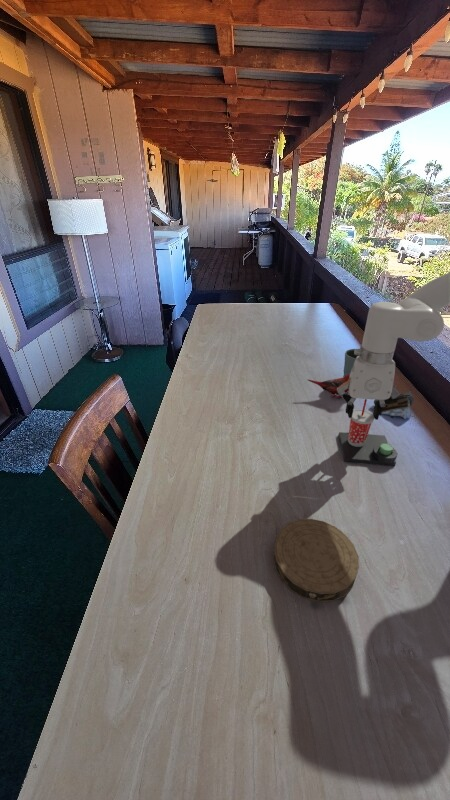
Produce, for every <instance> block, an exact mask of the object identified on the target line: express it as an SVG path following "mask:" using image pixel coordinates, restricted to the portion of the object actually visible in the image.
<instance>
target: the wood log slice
mask: <svg viewBox="0 0 450 800" xmlns="http://www.w3.org/2000/svg"><path fill="white" fill-rule="evenodd" d="M273 564H274V569H275V571H276V573H277V575H278V577H279V579H280V581H281V582H282V583H283V584H284V585H285V586H286V587H287V588H288V589H289V590H290V591H291V592H292V593H294V594H296V595H298V596H299V597H301V598H303V599H305V600H309V601H313V602H317V603H326V602H334V601H337V600H340V599H341V598H343V597H345V596H346V595H347V594H348V593H349V592H350V591H351V590H352V589H353V587H354V584H355V581H356V578H357V575H358V571H359V569H360V562H359V554H358V551H357V549H356V547H355V545H354V543H353V542H352V541H351V539H350V538H349V537H348V536H347V535H346V533H344V532H343V531H342V530H340V529H339V528H338V527H336V526H335V525H333V524H331V523H328V522H325V521H323V520H318V519H314V518H305V519H303V518H301V519H297V520H294V521H292V522H289V523H288V524H286V525H285V526H284V527H282V528H281V529H280V531H279V532H278V534H277V536H276V537H275V542H274V550H273Z"/></svg>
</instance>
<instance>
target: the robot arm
mask: <svg viewBox="0 0 450 800" xmlns="http://www.w3.org/2000/svg"><path fill="white" fill-rule="evenodd" d="M448 305H450V272H448V273H446V274H443V275H440V276H438V277H436V278H434V279H432V280H430V281H428V282H427V283H425V284H424V285H422V286H421V287H419V288H418V289H416V290H414V291H413V292H411V293H410V294H409V295H407V296H406V297H405V298H404V299H402V300H401V301H400V302H399V304H398V303H397V302H396V303H395V302H390V301H378V302H374V303H373V304H372V305H370V307H369V308H368V313H367V318H366V323H365V328H364V332H363V336H362V337H363V338H362V340H361V341H362V342H361V345H360V347H359V348H354V349H355V350H354V355H359V356H357V358H356V360H355V362H354V365H353V367H352V370H351V373H350V377H349V380H348V381H347V382H345V383H344V384H342V385H341V386H339V387H338V388H337V392H338V393H339V394H338V395H339V396H340V397H343V398H342V399H343V400H344V401H345V403H346V406H345V414H347V417H348V419H351V418H352V414H353V410H355V404H354V403H355V401H356V400H357V399H358V400H359V399H361V400H365V399H367V400H378V401H376V402H375V404H374V406H373V411H372V414H373V416H374V420H379V418H380V416H381V415H382V414H381V412H382V409H383V407H385V405H386V404H387V403H389V402H390V401H392V399H394V398H396V397H398V396H399V395H400V394H401V393H400V392H399V390H398V389H397V388H396V387H395V386H394V381H395V375H396V373H395V372H396V362H395V360H394V359H393V358H394V354H395V351H396V347H397V343H398V339H404V340H408V341H414V342H422V343H423V342H429V341H433V340H434V339H437V338H438V337H439V336H440V335H441V333H442V332H443V330H444V327H445V321H444V317H443V316H442V314H441V313H440V312H439V311H440V310H441V309H443V308H445V307H446V306H448ZM346 389H349V391H348V392H345V390H346Z"/></svg>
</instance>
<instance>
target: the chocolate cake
mask: <svg viewBox="0 0 450 800" xmlns="http://www.w3.org/2000/svg"><path fill="white" fill-rule="evenodd" d="M399 394H400V395H399V396H398V397H396V398H394V399H392V401H390V402H389V403H387V404H386V405H385V407H383V409H382V412H381V415H389V417H391V418H392V419H394V418H395V417H401V418H402V419H403V420H407V419H410V418H411V416H412V410H411V409H412V408H411V407H412V406H413V404H414V399H415V398H414V396H413V392H411V391H409V392H404V393H399ZM376 401H378V400H375V399H373V404H374V405H375V402H376Z"/></svg>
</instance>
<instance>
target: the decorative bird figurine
mask: <svg viewBox="0 0 450 800" xmlns="http://www.w3.org/2000/svg"><path fill="white" fill-rule="evenodd" d="M349 377H350V374H348V375H347V376H345V377H343V376H342V377H339V378H338V377H337V378H331V379H327V380H324V381H317V380H314V379H313V380H312V379H307V381H308V382H309V383H312V384H315V385H318V386H319V387H320V388H321V389H322V390H323V391H326V392H327V393H330V394H331V395H330V397H332V398H336V399H341V398H342V399H343V397H342V396H341V395H340V394H339V393H338V392H337V388H338V387H339V386H341V385H342V384H344V383H345V382H347V381H348V380H349ZM345 392H346V393H349V389H346V390H345Z"/></svg>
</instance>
